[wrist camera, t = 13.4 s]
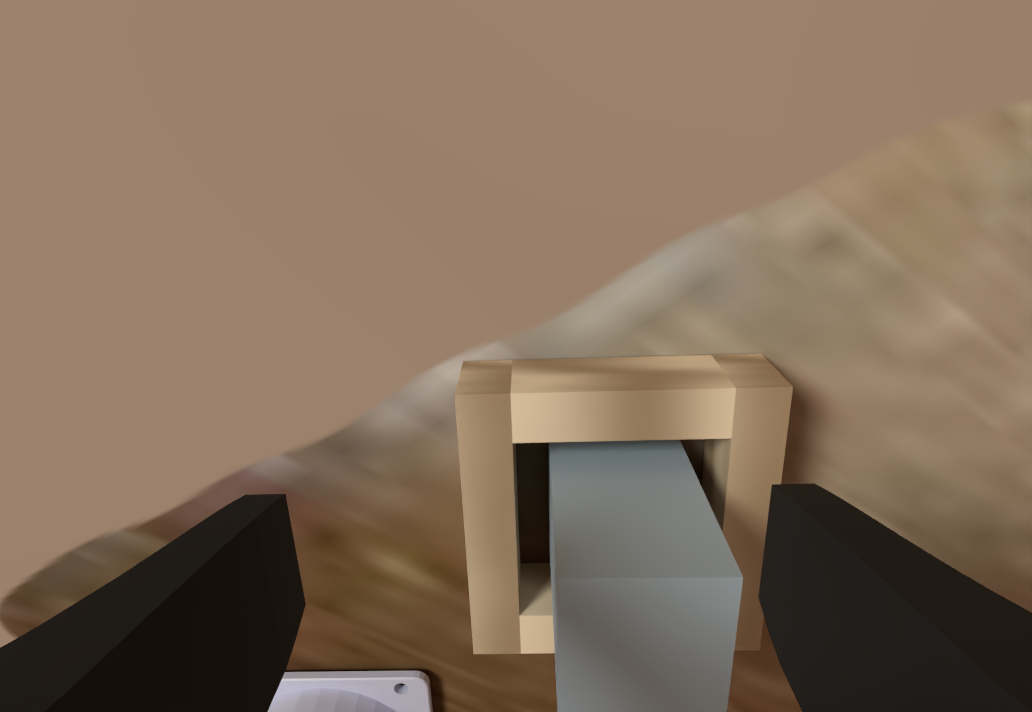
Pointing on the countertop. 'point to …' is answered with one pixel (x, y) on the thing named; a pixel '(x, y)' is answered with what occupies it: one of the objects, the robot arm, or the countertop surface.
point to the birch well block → (611, 417)
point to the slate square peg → (638, 581)
